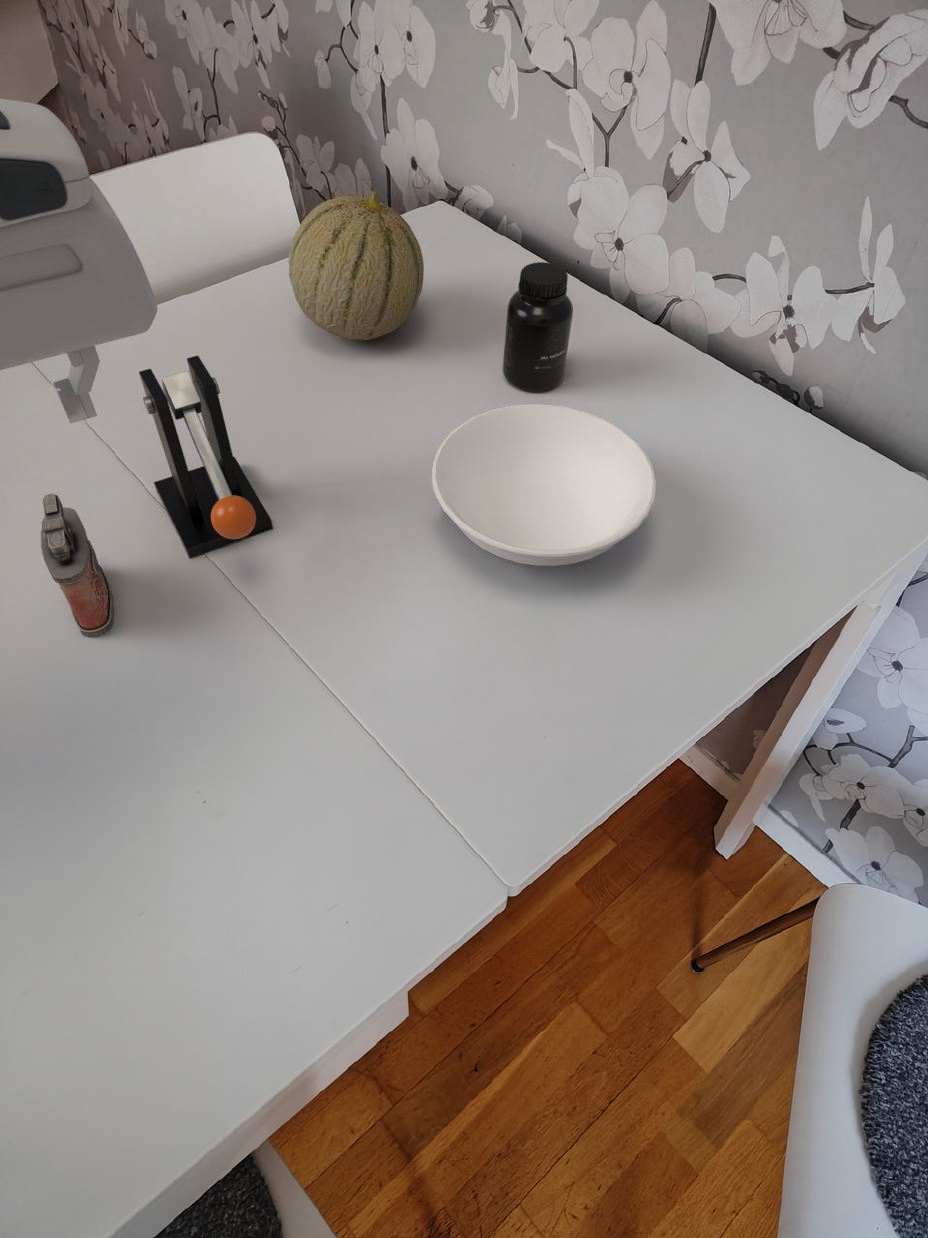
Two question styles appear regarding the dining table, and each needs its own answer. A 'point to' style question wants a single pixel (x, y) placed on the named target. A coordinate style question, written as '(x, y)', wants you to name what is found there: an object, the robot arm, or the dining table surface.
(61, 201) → the robot arm
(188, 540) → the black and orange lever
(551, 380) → the supplement bottle
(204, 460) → the switch
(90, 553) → the lighter
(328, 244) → the cantaloupe
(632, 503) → the bowl
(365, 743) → the dining table surface
